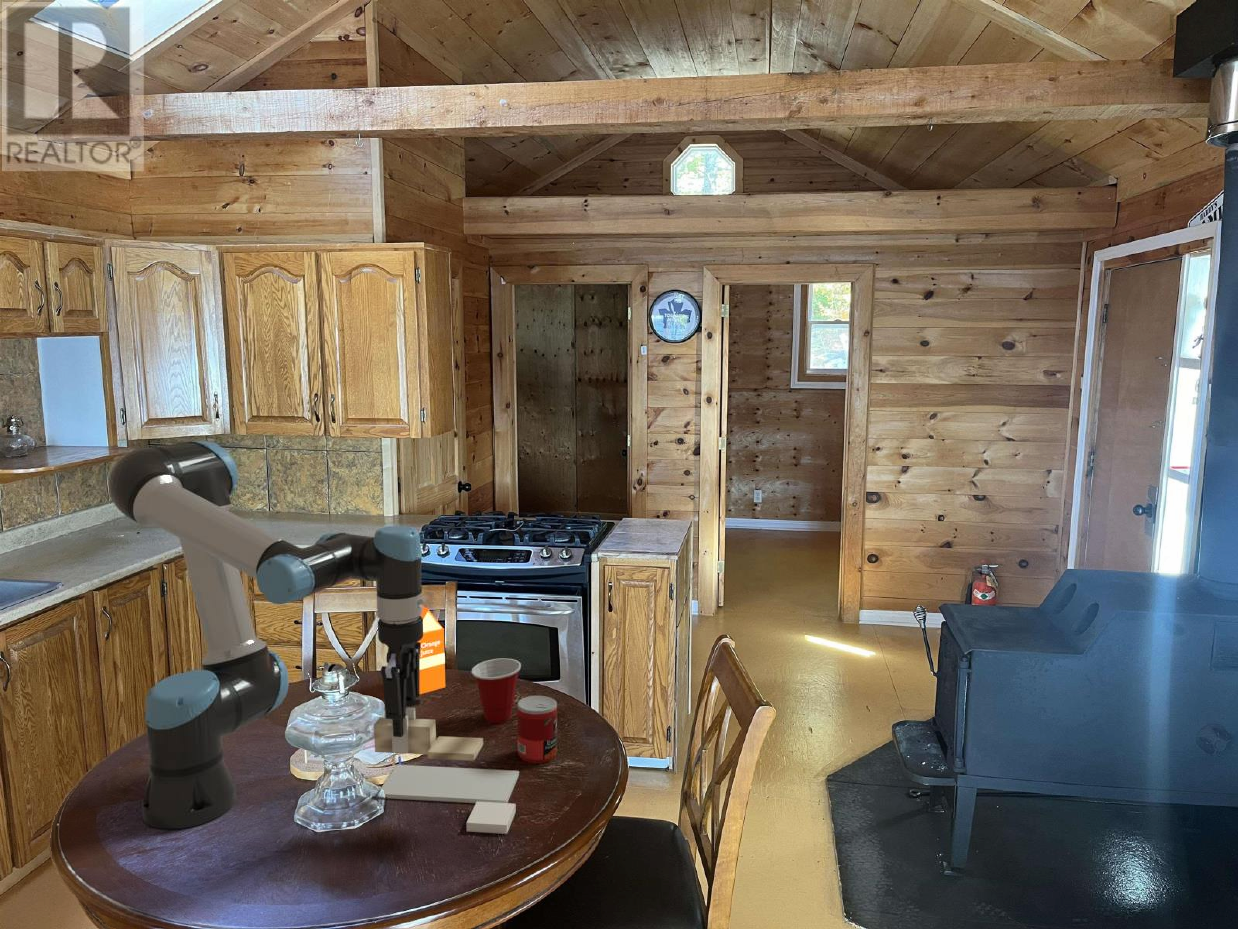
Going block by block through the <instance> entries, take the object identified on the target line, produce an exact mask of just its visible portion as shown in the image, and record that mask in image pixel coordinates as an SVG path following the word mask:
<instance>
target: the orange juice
mask: <svg viewBox="0 0 1238 929" xmlns="http://www.w3.org/2000/svg"><path fill="white" fill-rule="evenodd" d="M420 616H421V617H422V618H423V638H422V639H421V640H420V641H418V642H420V643H421V648H420V695H422V694H425V693H429V692H433V691H436V690H440V689H443V688H446V667H445V666H446V665H445V664H446V656H445V628H443V627H442V625H441V624H440V623H439V622H438V620H437V618H435V616H434V615H433V614H432V612H431V611H430V609H429V608H427V607H425V606H424V605H422V615H420Z"/></svg>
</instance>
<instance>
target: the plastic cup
mask: <svg viewBox="0 0 1238 929" xmlns="http://www.w3.org/2000/svg"><path fill="white" fill-rule="evenodd" d="M521 667H522V663H521V662H520V661H518V660H516V659H513V658H504V657H502V658H493V659H488V660H484V661H482V662H480V663H477V664H476V665H474V666H473V667H472V668H471V674H472V676H473V677H474V679H475V682H476V684H477V689H478V693H479V698H480V703H481V706H482V711H483V716H484V720H485V721H486V722H487V723H490V724H502V723H506V722H508V721H509V720H511V718H512V714H513V708H514V704H515V699H516V698H515V697H516V691H517V690H516V689H517V682H518V680H519V679H518V678H519V672H520V670H521Z"/></svg>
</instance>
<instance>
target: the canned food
mask: <svg viewBox="0 0 1238 929" xmlns="http://www.w3.org/2000/svg"><path fill="white" fill-rule="evenodd" d="M516 716H517V717H516V722H517V724H516V725H517V753H518V756H519V758H520V759H521V760H522V761H524V762H527V763H530V764H542V763H543V764H544V763H548V762H550V761H552V760H553V759H555V758H556V756H557V752H558V704H557V701H556V700H555V699H554V698H552V697H549V696H545V695H530V696H525V697H523V698H520V699H519V700H518V702H517V707H516Z"/></svg>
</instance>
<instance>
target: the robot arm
mask: <svg viewBox="0 0 1238 929" xmlns="http://www.w3.org/2000/svg"><path fill="white" fill-rule="evenodd" d="M238 482H239V473H238V468H237V465H236V463H235V461H234V459H233V457H232V456H231V455H230V453H229V452H228V451H227V450H226V449H225V448H223V447H221V446H220V445H219V444H217V443H215V442H213V441H208V440H201V441H199V440H198V441H195V440H191V441H185V442H178V443H172V444H167V445H161V446H159V445H158V446H153V447H143V448H139V449H135V450H132V451H130V452H128V453H126V454H125V455H124V456H122V457H120V459H119V460H118V461H117V462H116V463H115V464H114V466H113V468H112V469H111V471H110V475H109V478H108V490H109V491H108V492H109V495H110V498H111V500H112V503H113V504H114V505H115V507H116V508H117V509H118V510H119V511H120V512H121V513H122V514H123V515H124V516H125V517H127V518H129V519H130V520H132V521H133V522H136V523H137V524H140V526H143V527H146V528H154V527H158V528H160V529H161V530H164V531H166V532H167V533H169V534H171V535H173V536H174V537H177V538H178V539H179V543H180V548H181V551H182V554H183V558H184V562H185V566H186V570H187V574H188V577H189V581H190V582H189V583H190V585H191V588H192V593H193V598H194V601H195V606H196V610H197V612H198V617H199V621H200V624H201V629H202V632H203V638H204V640H205V644H206V648H207V653H206V654H205V656H204V657H203V659H202V661H201V665H202V669H192V670H186V671H184V672H183V673H181V672H177V673H175V674H172V675H170V676H168V677H165V678H163V679H162V680H160V681H158V682H157V683H155V684H154V685H153V686H152V687H151V689H149V691H148V693H147V695H146V697H145V712H144V720H145V723H146V732H147V744H148V760H149V771H150V772H149V773H150V774H149V777H148V781H147V782H146V783H147V784H146V787H145V791H144V795H143V798H142V802H141V817H142V821H143V822H144V823H145V824H146V825H147V826H150V827H152V828H154V829H155V828H156V829H161V830H178V829H179V830H180V829H186V828H191V827H196V826H199V825H202V824H205V823H208V822H210V821H213V820H215V819H216V818H218V817H219V818H220V816H223V815H224V814H225V813H227V812H228V811H229V810H231V808H232V807H233V806H234V805H235V803H236V801H237V792H236V790H237V787H236V784H235V781H234V780H233V778H232V776H231V773H230V771H229V769H228V767H227V764H226V762H225V760H224V755H223V754H224V752H223V738H224V737H225V736H228V735H229V734H231V733H233V732H235V731H236V730H239V729H241V728H242V727H245V726H246V725H249V724H251V723H252V722H254V721H256V720H259V719H262V718H264V717H265V716H267V715H268V714H270V712H272V711H274V710H275V709H277V708H278V707H279V706H280V705H281V704H282V703H283V701H284V699H285V698H286V696H287V694H288V691H289V685H290V684H289V682H290V681H289V680H290V678H289V676H290V675H289V672H288V668H287V665H286V664H285V662H284V660H283V659H280V655H279V654H277V653H276V652H274V651H272V650H269V647H268V644H267V642H266V641H263V640H261V639H260V638H258V637H257V636H256V631H255V629H254V625H253V620H252V617H251V612H250V609H249V604H248V601H247V597H246V592H245V588H244V585H243V580H242V577H241V573H240V571H241V572H242V573H244V574H246V575H248V576H250V577H251V578H253V579H255V580H256V585H257V588H258V591H259V592H260V593H262V594H263V596H264V599H266V601H269V602H270V603H272V604H275V605H284V604H288V603H291V602H297V601H301V600H303V599H305V598H307V597H309V596H312V595H314V594H316V593H318V592H321V591H324V590H326V589H330V588H331V587H334V586H337V585H340V584H343V583H345V582H347V581H350V580H360V581H367V582H375V584H376V588H375V589H376V615H377V618H378V619H379V620H377V636H378V641H379V642H380V643H381V644H384V645H385V646H386V647H387V648H388V649H387V653H386V663H387V665H382V666H381V668H380V674H381V677H382V683H383V684H382V685H383V699H384V700H383V701H384V711H385V715H384V716H385V717H384V718H386V719H391V724H392V752H394V753H393V754H407V753H408V752H409V734H408V719H417V718H416V717H417V716H416V706H420V705H421V700H420V699H417V698H419V697H420V695H421V694H420V648H421V643H420V642H418V641H420V640H421V639H422V638H423V618H422V617H421V616H420V615H422V606H424V605H425V604H426V600H425V599H424V598H423V591H422V590H423V586H422V557H423V556H422V555H423V551H422V548H421V537H420V536H421V535H420V532H419V531H418V529H416V528H415V527H413V526H408V525H391V526H384V527H381V528H378V529H377V530H375V533H374V536H368V535H359V534H353V533H346V532H341V531H340V532H327V533H325V534H323V535H321V536H320V538H319V539H318V540H316V541H315V543H314V544H313V545H309V546H307V547H299V546H297V545H295V544H293V543H291V542H288V541H287V540H285V539H283V538H280V537H279V536H277V535H276V534H274V533H271V532H269V531H267V530H265V529H264V528H262V527H260V526H257V525H255V524H254V523H252V522H250V521H248V520H246V519H244V518H242V517H240V516H239V515H236V514H235V513H232V512H231V511H229V510H230V509H231V508H232V502H231V498H230V496H231V495H232V494H233V493H234V492H235V491H236V490H237V489H236V488H237V484H238Z"/></svg>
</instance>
